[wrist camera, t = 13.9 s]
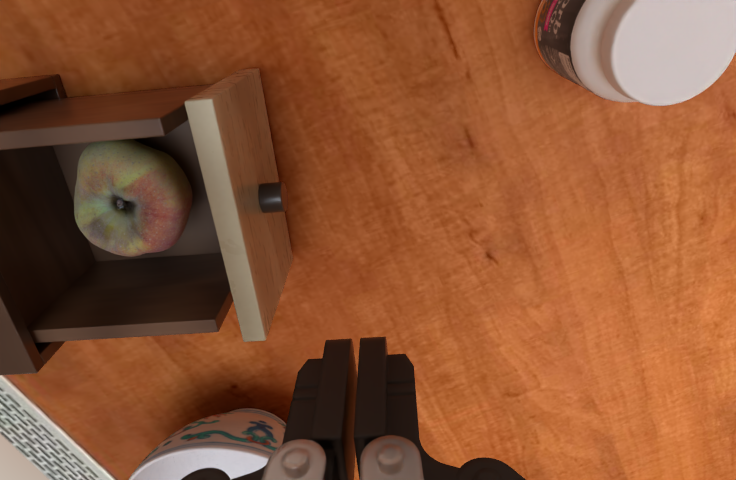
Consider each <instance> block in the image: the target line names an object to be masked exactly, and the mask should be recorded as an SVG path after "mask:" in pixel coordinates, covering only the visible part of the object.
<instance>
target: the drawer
mask: <svg viewBox="0 0 736 480" xmlns="http://www.w3.org/2000/svg"><path fill="white" fill-rule="evenodd" d="M125 139H133V140H135V141H137V142H139V143H141V144H143V145H146V146H148V147H151V148H153V149H156V150H159V151H162V152H165V153H167V154H168V155H170V156H171V157H172V158H173V159H174V160H175V161H176V162H177V164H178V165H179V166H180V167H181V169H182V170H183V172H184V173H185V175H186V177H187V179H188V181H189V183H190V185H191V189H192V206H191V210H190V214H189V218H188V221H187V224H186V227H185V229H184V231H183V233H182V235H181V237H180V239H179V240H178V241H177V242H176V243H175V244H174V245H173V246H172V247H170V248H169V249H167V250H164V251H160V252H153V253H145V254H142V255H139V256H134V257H128V256H121V255H117V254H114V253H111V252H109V251H106V250H104V249H102V248H100V247H98V246H96V245H94V244H93V243H91V242H90V241H89V240H88V239H87V238H86V237H85V236H84V234H83V233H82V232H81V230H80V229H79V227H78V225H77V223H76V220H75V214H74V195H75V186H76V181H77V168H78V162H79V158H80V156H81V154H82V152H83V151H84V150H85V148H86V147H87V146H88V145H89V144H91V143H92V142H102V141H113V140H125ZM287 207H288V195H287V189H286V186H285V184H284V182H279V178H278V172H277V167H276V161H275V155H274V150H273V144H272V139H271V133H270V127H269V122H268V116H267V111H266V105H265V99H264V94H263V88H262V83H261V77H260V72H259V69H258V68H255V69H244V70H238V71H236V72H235V73H233V74H231V75H230V76H228V77H226V78H224V79H223V80H221V81H219V82H217V83H216V84H211V85H200V86H190V87H179V88H168V89H157V90H146V91H135V92H125V93H114V94H103V95H92V96H81V97H71V98H60V99H49V100H38V101H31V102H28V103H25V104H22V105H19V106H16V107H13V108H10V109H7V110H3V111H0V272H1V274H2V276H3V278H4V280H5V282H6V284H7V286H8V289H9V291H10V293H11V295H12V297H13V299H14V301H15V303H16V306H17V308H18V310H19V312H20V314H21V316H22V318H23V320H24V322H25V325H26V327H27V329H28V331H29V333H30V335H31V337H32V339H33V341H34V343H40V342H57V341H74V340H91V339H108V338H125V337H142V336H159V335H176V334H192V333H209V332H219V329H220V327H221V325H222V323H223V321H224V319H225V317H226V315H227V313H228V311H229V309H230V307H231V305H232V302H233V301H234V305H235V309H236V313H237V317H238V321H239V325H240V329H241V333H242V337H243V341H244V342H248V341H265V340H266V338H267V335H268V332H269V329H270V326H271V323H272V320H273V317H274V314H275V311H276V308H277V305H278V303H279V300H280V297H281V294H282V291H283V288H284V285H285V282H286V279H287V276H288V273H289V270H290V267H291V264H292V261H293V256H292V250H291V245H290V239H289V234H288V228H287V222H286V217H285V212H286V211H287ZM163 252H164V253H163Z"/></svg>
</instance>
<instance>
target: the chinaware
mask: <svg viewBox="0 0 736 480" xmlns="http://www.w3.org/2000/svg"><path fill="white" fill-rule="evenodd" d="M285 429H286V423H285V422H284V421H283V420H281V419H280V418H279V417H277V416H276V415H274V414H272V413H270V412H267V411H264V410H260V409H253V408H243V409H237V410H233V411H230V412H228V413H221V414H216V415H212V416H208V417H205V418H202V419H199V420H197V421H195V422H192V423H190V424H188V425H186V426H184V427H183V428H181V429H179V430H178V431H176V432H175V433H173V434H172V435H170V436H169V437H168V438H166V439H165V440H164V441H163V442H162V443H160V444H159V445H158V446H157V447H156V448H155V449H154V450H153V451H152V452H151V453H150V454H149V455H148V456H147V457H146V458H145V459H144V460H143V462H142V463H141V464H140V465H139V466H138V468H137V469H136V470H135V471H134V473H133V474H132V475H131V477H130V478H129V480H181V479H182V478H184V477H185V476H186V475H188V474H190V473H191V472H194V471H196V470H199V469H203V468H218V469H221V470H223V471H224V472H225V473H226V474H227V475H228V476H229V478H230V480H231V479H234V478H237V477H240V476H243V475H246V474H249V473H252V472H255V471H257V470H259V469H261V468H263V467H264V466H266V464H267V461H268V459H269V457H270V456H271V454H272V453H273V452H274V451H275V450H276V449H277V448H278V447H280V446H281V445H282V442H283V438H284V433H285Z"/></svg>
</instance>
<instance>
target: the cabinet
mask: <svg viewBox="0 0 736 480" xmlns="http://www.w3.org/2000/svg"><path fill="white" fill-rule="evenodd" d="M60 98H66V95H65V92H64V89H63V86H62V83H61V80H60V77H59V75H58V74H56V75H45V76H35V77H24V78H14V79H3V80H0V111H3V110H7V109H10V108H13V107H16V106H19V105H22V104H25V103H28V102H31V101H38V100H49V99H60ZM64 342H65V341H57V342H40V343H34V341H33V339H32V337H31V335H30V333H29V331H28V329H27V327H26V325H25V322H24V320H23V318H22V316H21V314H20V312H19V310H18V308H17V306H16V303H15V301H14V299H13V297H12V295H11V293H10V291H9V289H8V286H7V284H6V282H5V280H4V278H3V276H2V274H1V272H0V375H12V374H31V373H37V372H38V371H39V370H40V369H41V368H42V367H43V366H44V364H46V362H47V361H48V360H49V359H50V358H51V357H52V356H53V355H54V354H55V352H56V351H57V350H58V349H59V348H60V347H61V346H62V345H63V344H64Z"/></svg>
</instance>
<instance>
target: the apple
mask: <svg viewBox="0 0 736 480" xmlns="http://www.w3.org/2000/svg"><path fill="white" fill-rule="evenodd" d="M191 206H192V189H191V185H190V183H189V181H188V179H187V177H186V175H185V173H184V172H183V170H182V169H181V167H180V166H179V165H178V164H177V162H176V161H175V160H174V159H173V158H172V157H171V156H170V155H168V154H167V153H165V152H162V151H159V150H156V149H153V148H151V147H148V146H146V145H143V144H141V143H139V142H137V141H135V140H133V139H125V140H113V141H102V142H92V143H91V144H89V145H88V146H87V147H86V148H85V150H84V151H83V152H82V154H81V156H80V158H79V162H78V168H77V181H76V186H75V195H74V214H75V220H76V223H77V225H78V227H79V229H80V230H81V232H82V233H83V234H84V236H85V237H86V238H87V239H88V240H89V241H90V242H91V243H93V244H94V245H96V246H98V247H100V248H102V249H104V250H106V251H109V252H111V253H114V254H117V255H121V256H128V257H134V256H139V255H142V254H145V253H153V252H160V251H164V250H167V249H169V248H170V247H172V246H173V245H174V244H175V243H176V242H177V241H178V240H179V239H180V237H181V235H182V233H183V231H184V229H185V227H186V224H187V221H188V218H189V214H190V210H191ZM163 253H164V252H163Z"/></svg>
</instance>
